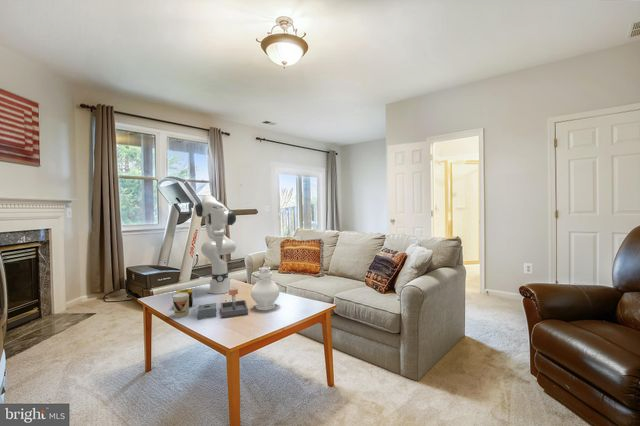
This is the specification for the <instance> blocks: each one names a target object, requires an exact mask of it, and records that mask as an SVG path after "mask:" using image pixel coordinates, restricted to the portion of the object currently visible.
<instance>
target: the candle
mask: <svg viewBox="0 0 640 426" xmlns="http://www.w3.org/2000/svg"><path fill="white" fill-rule="evenodd" d="M179 293H188V294H189V308H192V307H193V304H194V302H193V301H194V300H193V288H184V289H183V288H182V289H176V292H175V294H179ZM175 294H174V295H175Z"/></svg>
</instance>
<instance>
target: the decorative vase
mask: <svg viewBox="0 0 640 426" xmlns="http://www.w3.org/2000/svg"><path fill="white" fill-rule="evenodd" d="M256 275H257V277H258V278H259V279H258V280H257V281H256V283H255V284H254V285H253V286H252V289H251V292H250V296H251V299H252V300H253V301H254V302H255V303H256V305H255V309H256V310H258V311H259V310H260V311H268V310H273V309H275V308H276V304H275V302H276V301H277V299H278V298H279V296H280V287H279V286H278V285H277V283H276V282H275V281H274V280H273V279H272V278H271V277H272V276H273V272H272V271H271V267H270V266H261V267H259V268H258V272H257V274H256Z"/></svg>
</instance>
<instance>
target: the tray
mask: <svg viewBox="0 0 640 426" xmlns="http://www.w3.org/2000/svg"><path fill="white" fill-rule="evenodd" d="M220 306H221V308H220V309H221V319H226V318H227V319H228V318H234V317H240V316H246V315H247V316H248V315H249V308H248V305H247V301H246V300H245V299H242V300H241V299H240V300H236V310H232V301H225V302H221V303H220Z"/></svg>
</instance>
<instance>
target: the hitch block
mask: <svg viewBox="0 0 640 426" xmlns="http://www.w3.org/2000/svg"><path fill="white" fill-rule="evenodd" d="M216 317H217V303H216V302H213V303H206V304H199V305H198V308H197V319H198V320H201V319H209V318H216Z"/></svg>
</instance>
